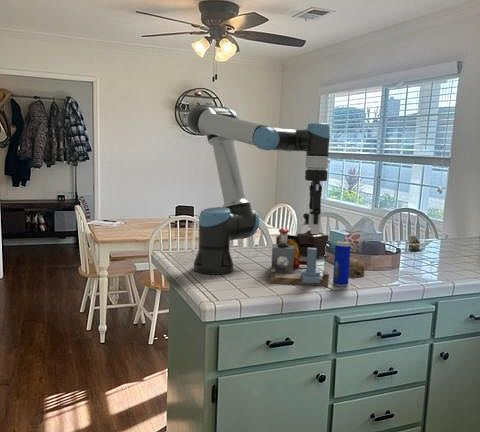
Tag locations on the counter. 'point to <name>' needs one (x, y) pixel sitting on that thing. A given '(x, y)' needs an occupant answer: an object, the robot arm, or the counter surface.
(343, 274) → the beverage can
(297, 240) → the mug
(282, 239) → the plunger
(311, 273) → the carriage
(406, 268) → the counter surface
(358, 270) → the bread roll
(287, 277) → the rail
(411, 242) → the architectural model
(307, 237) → the manual coffee grinder
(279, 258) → the grey block
